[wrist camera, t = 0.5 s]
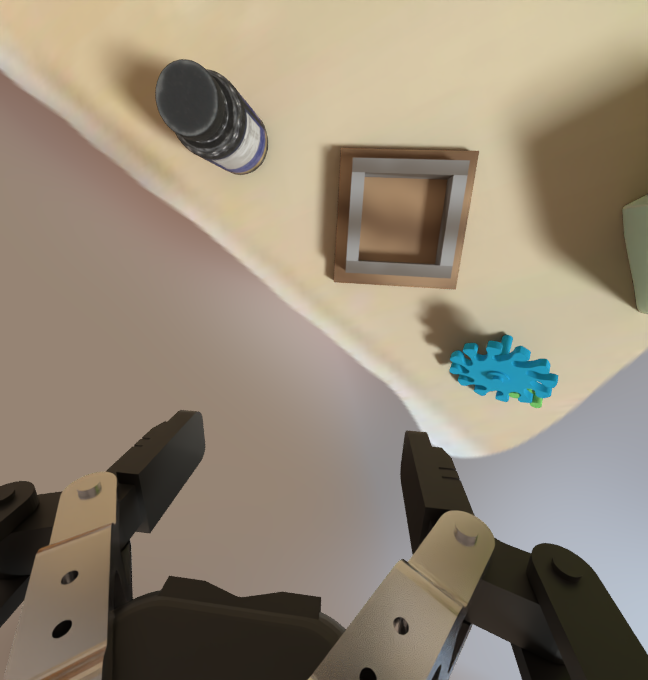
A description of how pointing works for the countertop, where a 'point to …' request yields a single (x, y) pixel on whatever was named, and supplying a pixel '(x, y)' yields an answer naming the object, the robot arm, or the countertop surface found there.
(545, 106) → the countertop surface
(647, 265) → the planter
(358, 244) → the framed wooden base
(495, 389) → the gear
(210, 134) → the pill bottle
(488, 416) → the countertop surface
